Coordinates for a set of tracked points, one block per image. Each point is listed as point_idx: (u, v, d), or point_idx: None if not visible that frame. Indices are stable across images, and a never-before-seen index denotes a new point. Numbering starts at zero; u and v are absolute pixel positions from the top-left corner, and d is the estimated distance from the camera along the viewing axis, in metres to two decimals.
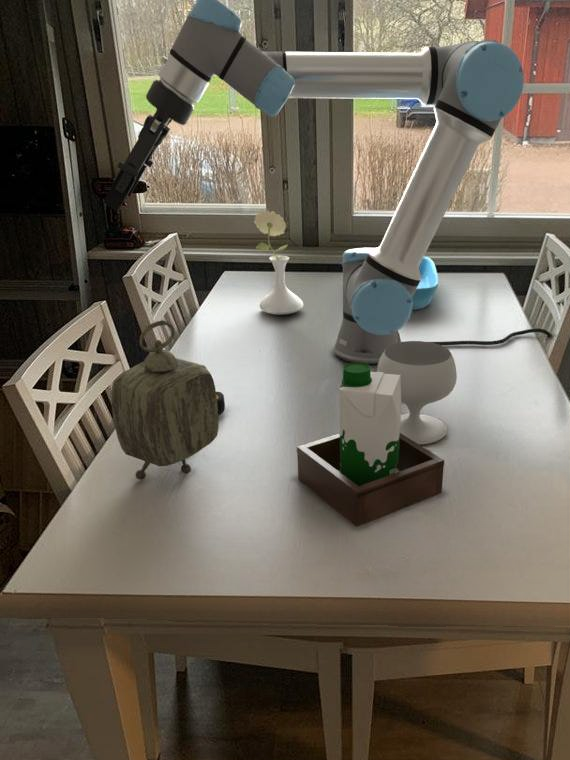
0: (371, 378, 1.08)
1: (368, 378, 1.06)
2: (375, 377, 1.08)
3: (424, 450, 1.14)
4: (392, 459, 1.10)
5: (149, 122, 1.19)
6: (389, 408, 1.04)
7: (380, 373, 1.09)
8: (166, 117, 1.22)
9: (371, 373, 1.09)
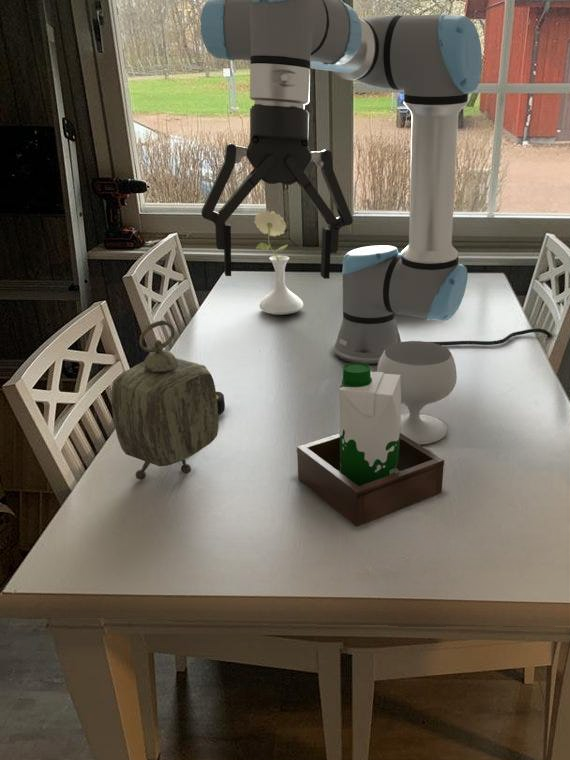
0: (371, 378, 1.08)
1: (368, 378, 1.06)
2: (375, 377, 1.08)
3: (424, 450, 1.14)
4: (392, 459, 1.10)
5: (331, 158, 0.96)
6: (389, 408, 1.04)
7: (380, 373, 1.09)
8: None
9: (371, 373, 1.09)
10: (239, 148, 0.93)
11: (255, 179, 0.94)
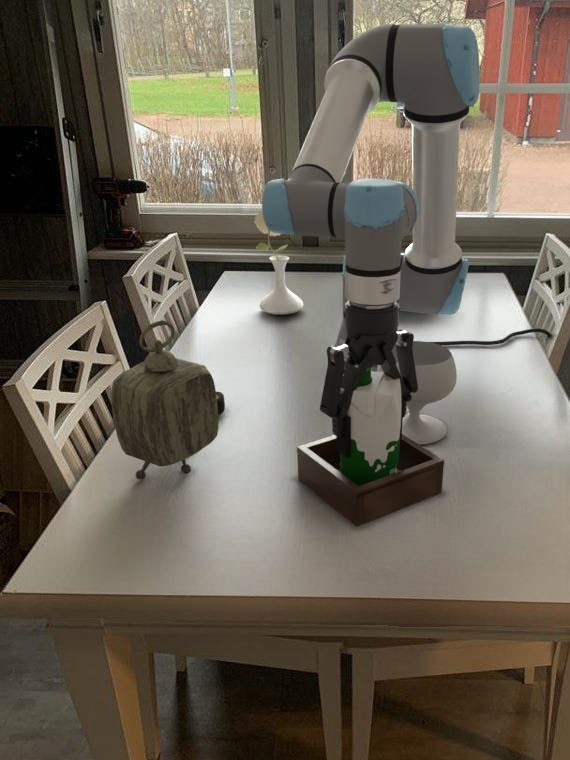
0: (371, 378, 1.08)
1: (369, 378, 1.06)
2: (376, 377, 1.08)
3: (424, 450, 1.14)
4: (392, 459, 1.10)
5: None
6: (389, 407, 1.04)
7: (380, 373, 1.09)
8: None
9: (371, 373, 1.09)
10: (343, 349, 1.00)
11: (363, 371, 1.03)
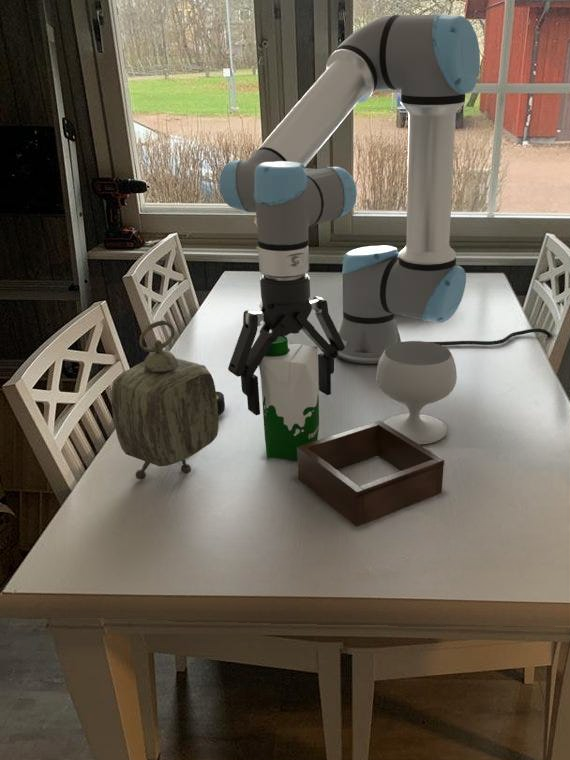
0: (289, 349, 1.17)
1: (285, 348, 1.16)
2: (293, 348, 1.17)
3: (424, 450, 1.14)
4: (310, 424, 1.20)
5: (326, 305, 1.16)
6: (303, 375, 1.14)
7: (298, 345, 1.19)
8: None
9: (290, 345, 1.19)
10: (258, 315, 1.10)
11: (274, 337, 1.12)
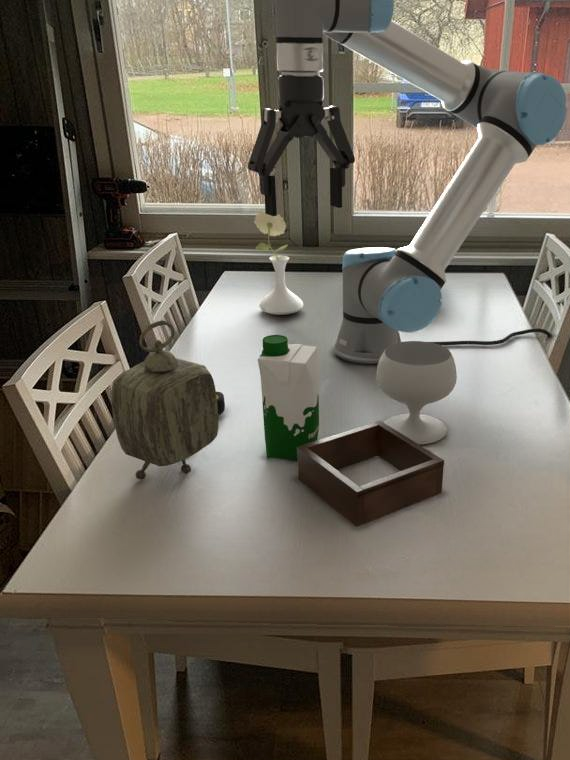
0: (289, 349, 1.17)
1: (285, 348, 1.16)
2: (293, 348, 1.17)
3: (424, 450, 1.14)
4: (310, 424, 1.20)
5: None
6: (303, 375, 1.14)
7: (298, 345, 1.19)
8: None
9: (290, 345, 1.19)
10: (276, 112, 1.19)
11: (291, 135, 1.20)
